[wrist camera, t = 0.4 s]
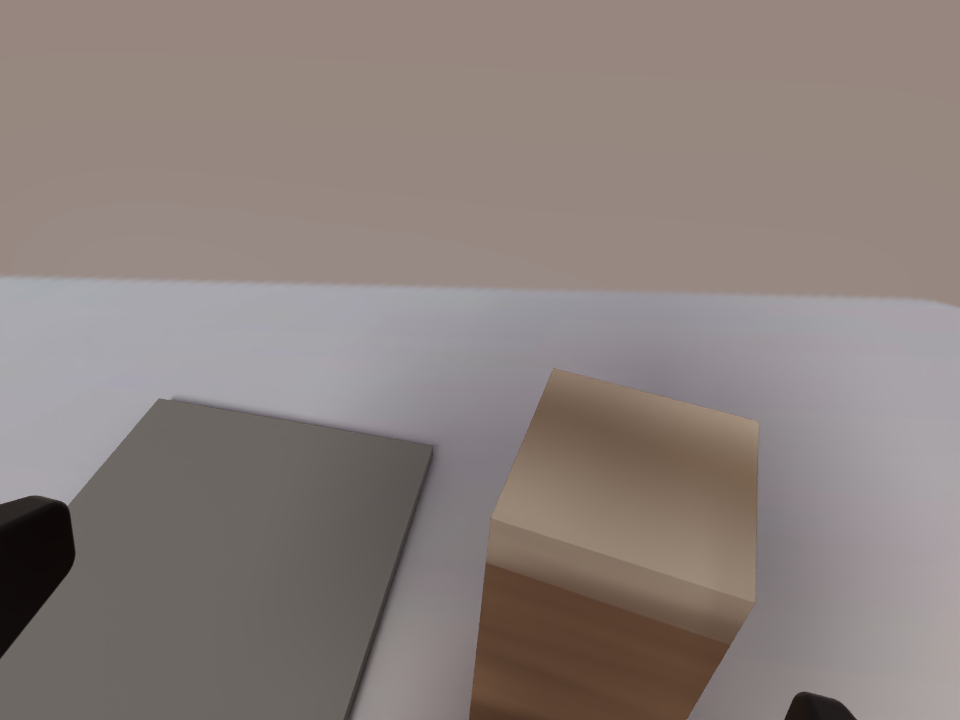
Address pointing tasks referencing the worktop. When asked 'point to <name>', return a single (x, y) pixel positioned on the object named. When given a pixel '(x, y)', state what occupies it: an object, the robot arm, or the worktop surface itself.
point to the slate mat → (220, 573)
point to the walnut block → (616, 557)
